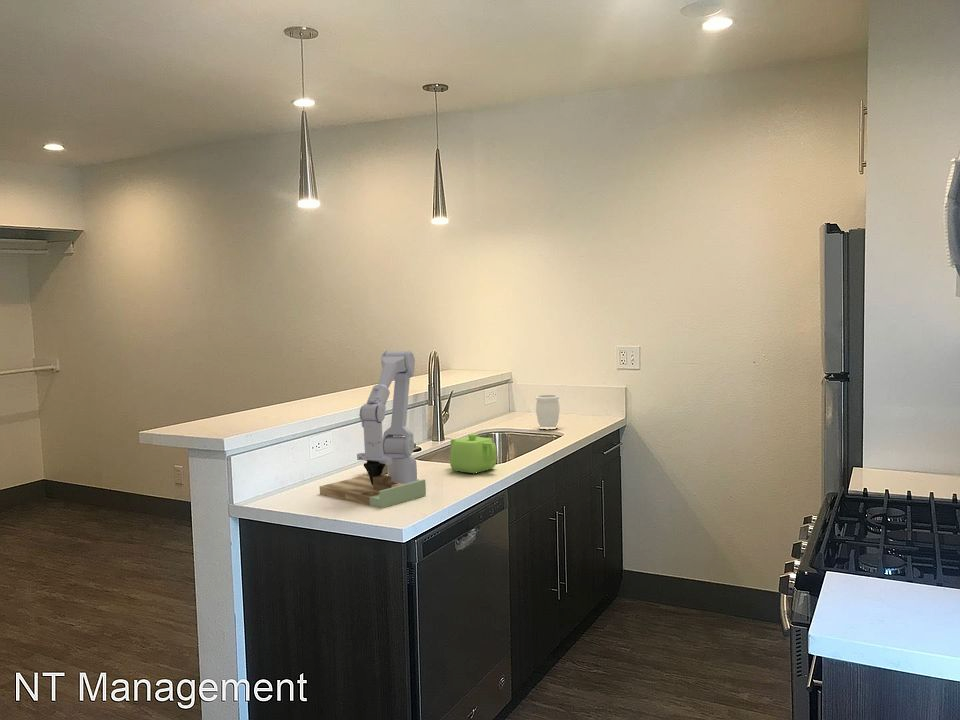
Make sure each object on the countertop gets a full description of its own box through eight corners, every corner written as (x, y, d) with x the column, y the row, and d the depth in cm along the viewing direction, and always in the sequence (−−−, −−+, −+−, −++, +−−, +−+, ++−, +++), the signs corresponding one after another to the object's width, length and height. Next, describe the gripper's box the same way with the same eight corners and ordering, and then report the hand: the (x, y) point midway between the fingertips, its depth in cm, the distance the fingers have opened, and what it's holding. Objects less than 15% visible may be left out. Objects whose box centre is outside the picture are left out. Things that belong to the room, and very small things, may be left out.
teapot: (472, 462, 301) (471, 427, 300) (515, 467, 288) (514, 431, 287) (438, 471, 287) (437, 434, 286) (482, 478, 274) (481, 439, 273)
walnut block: (383, 487, 254) (382, 474, 254) (391, 488, 252) (391, 476, 251) (373, 489, 251) (372, 477, 251) (381, 491, 249) (381, 478, 248)
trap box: (363, 483, 272) (362, 468, 272) (426, 495, 252) (425, 479, 252) (319, 494, 259) (319, 478, 258) (382, 508, 239) (381, 491, 238)
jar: (563, 428, 369) (563, 395, 368) (553, 431, 360) (552, 398, 359) (543, 426, 375) (542, 394, 373) (532, 430, 366) (531, 397, 365)
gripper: (348, 441, 255) (350, 484, 256) (379, 446, 245) (381, 490, 246) (366, 438, 260) (368, 480, 261) (396, 442, 250) (398, 486, 251)
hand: (375, 484), depth 254 cm, fingers closed
